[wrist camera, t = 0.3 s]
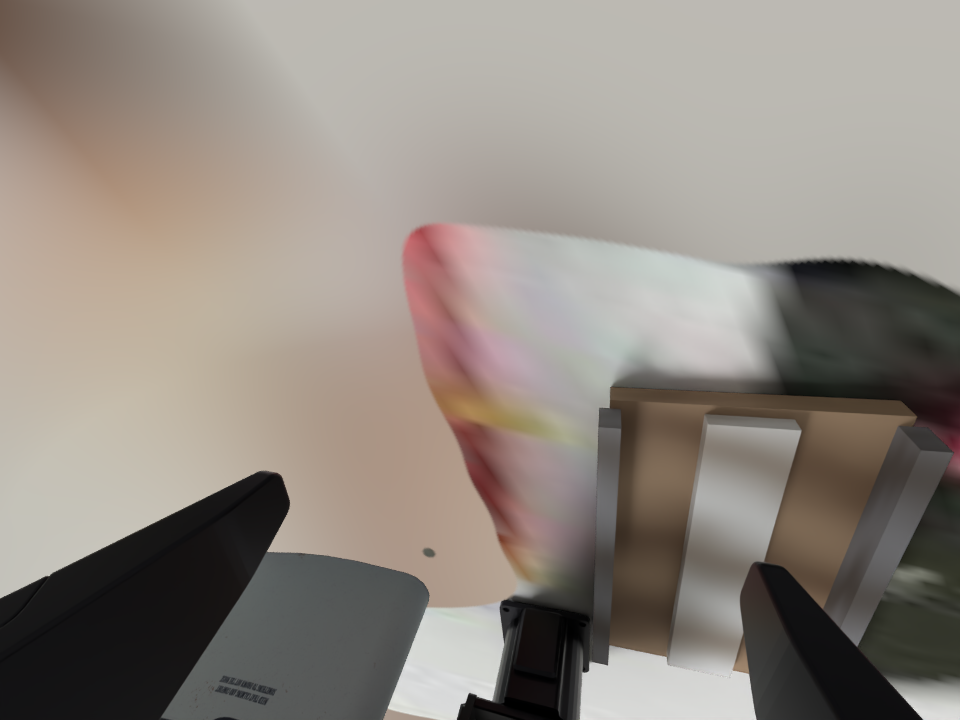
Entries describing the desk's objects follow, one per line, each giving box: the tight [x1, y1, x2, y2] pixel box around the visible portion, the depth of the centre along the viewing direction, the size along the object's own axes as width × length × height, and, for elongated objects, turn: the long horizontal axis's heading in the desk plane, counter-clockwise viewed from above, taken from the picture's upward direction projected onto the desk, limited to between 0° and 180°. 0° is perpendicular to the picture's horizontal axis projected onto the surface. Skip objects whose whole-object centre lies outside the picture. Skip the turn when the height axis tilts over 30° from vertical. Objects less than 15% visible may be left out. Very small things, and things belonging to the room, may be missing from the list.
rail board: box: [592, 387, 954, 678], centre depth 24 cm, size 20×13×3 cm, turn 6°
